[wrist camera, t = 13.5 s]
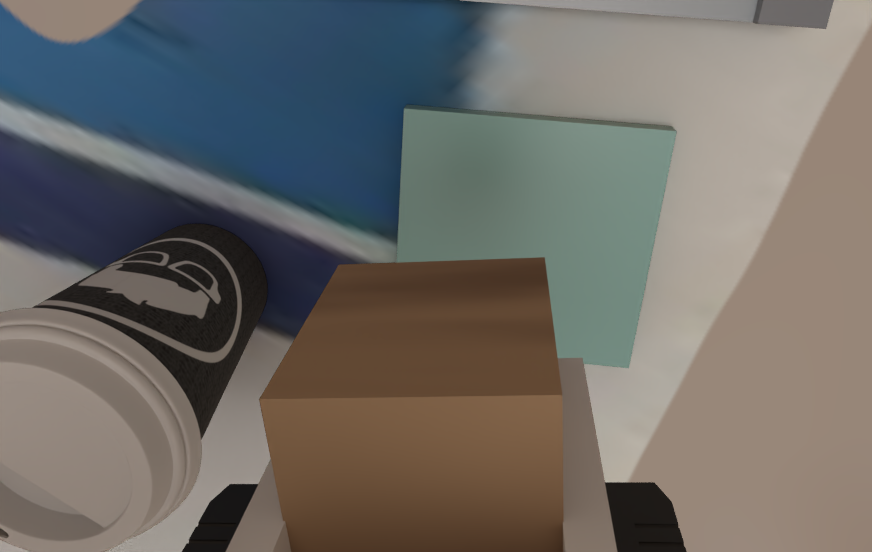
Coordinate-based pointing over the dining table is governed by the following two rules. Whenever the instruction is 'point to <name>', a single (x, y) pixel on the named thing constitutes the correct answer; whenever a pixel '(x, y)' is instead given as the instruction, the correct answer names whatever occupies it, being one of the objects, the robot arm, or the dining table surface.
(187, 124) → the dining table surface
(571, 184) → the teal coaster
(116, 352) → the coffee cup
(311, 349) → the walnut block
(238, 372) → the dining table surface
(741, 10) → the grey channel
